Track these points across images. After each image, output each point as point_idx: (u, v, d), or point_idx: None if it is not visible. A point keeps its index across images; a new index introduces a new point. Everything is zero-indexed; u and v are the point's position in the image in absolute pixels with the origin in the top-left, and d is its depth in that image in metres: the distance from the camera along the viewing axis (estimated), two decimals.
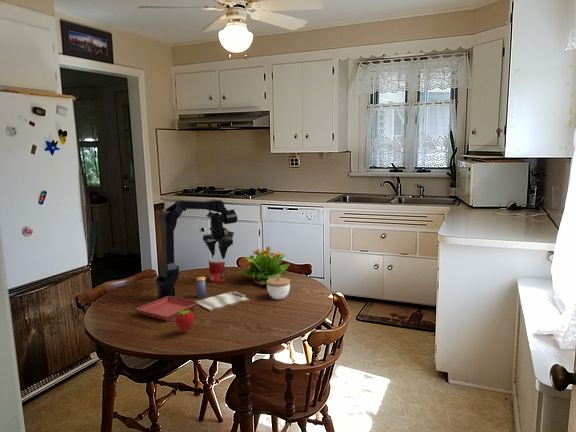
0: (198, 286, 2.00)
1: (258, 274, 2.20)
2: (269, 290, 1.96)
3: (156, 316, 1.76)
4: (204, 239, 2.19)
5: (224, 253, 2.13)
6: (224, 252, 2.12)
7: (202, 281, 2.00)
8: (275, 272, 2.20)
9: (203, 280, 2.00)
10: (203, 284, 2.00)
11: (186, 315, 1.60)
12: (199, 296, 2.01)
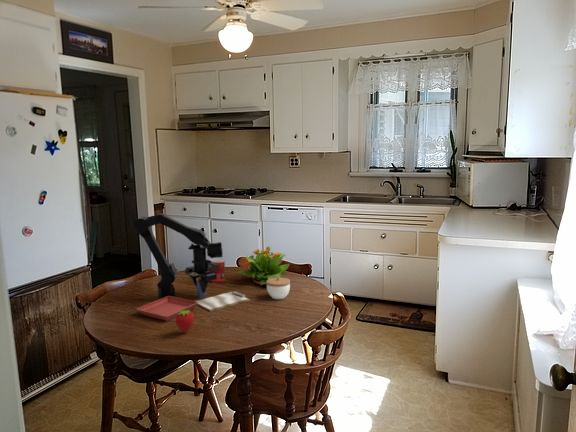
0: (198, 286, 2.00)
1: (258, 274, 2.20)
2: (269, 290, 1.96)
3: (156, 316, 1.76)
4: (186, 272, 2.05)
5: (204, 287, 2.00)
6: (204, 286, 2.00)
7: None
8: (275, 272, 2.20)
9: None
10: None
11: (186, 315, 1.60)
12: (199, 296, 2.01)
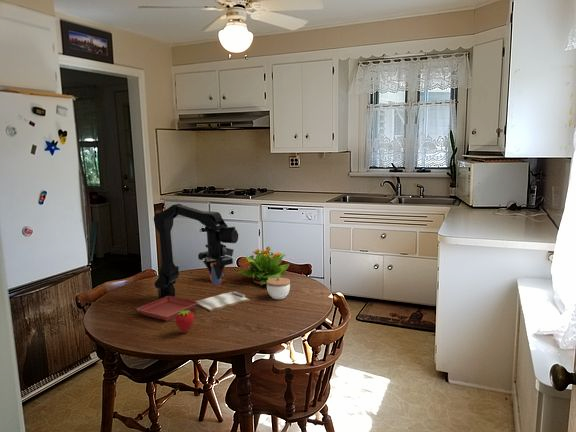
0: (213, 272, 1.87)
1: (258, 274, 2.20)
2: (269, 290, 1.96)
3: (156, 316, 1.76)
4: (200, 257, 1.92)
5: (220, 273, 1.87)
6: (220, 272, 1.87)
7: None
8: (275, 272, 2.20)
9: None
10: None
11: (186, 315, 1.60)
12: (214, 282, 1.88)
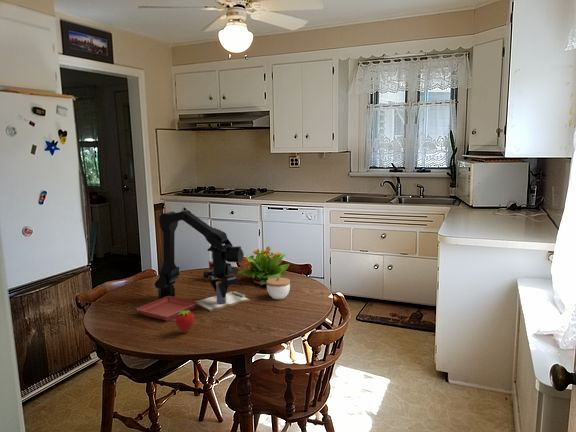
0: (218, 290, 1.89)
1: (258, 274, 2.20)
2: (269, 290, 1.96)
3: (156, 316, 1.76)
4: (205, 276, 1.94)
5: (224, 292, 1.89)
6: (224, 291, 1.89)
7: None
8: (275, 272, 2.20)
9: None
10: None
11: (186, 315, 1.60)
12: (219, 301, 1.90)
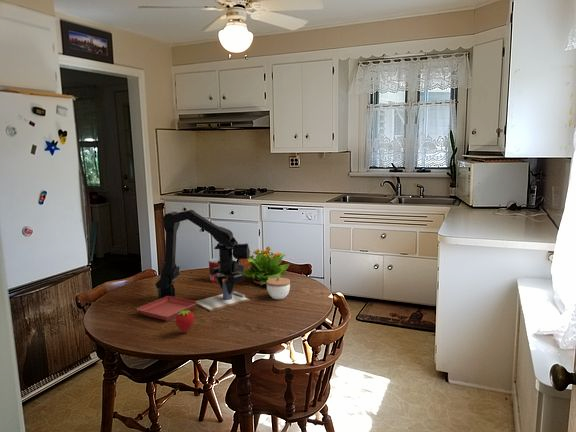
0: (224, 287, 1.95)
1: (258, 274, 2.20)
2: (269, 290, 1.96)
3: (156, 316, 1.76)
4: (212, 273, 1.99)
5: (231, 288, 1.94)
6: (231, 287, 1.94)
7: None
8: (275, 272, 2.20)
9: None
10: None
11: (186, 315, 1.60)
12: (225, 297, 1.95)
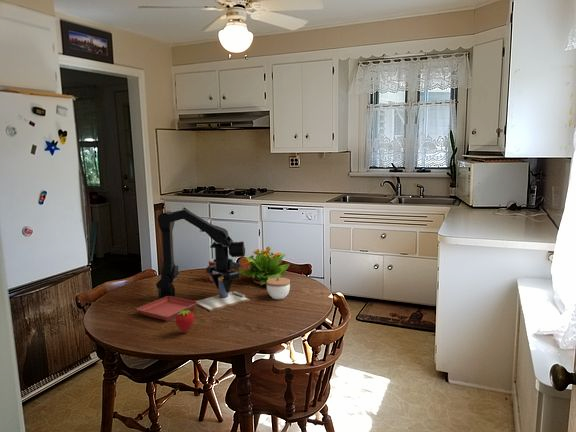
0: (220, 286, 1.97)
1: (258, 274, 2.20)
2: (269, 290, 1.96)
3: (156, 316, 1.76)
4: (208, 271, 2.02)
5: (228, 287, 1.96)
6: (228, 286, 1.95)
7: None
8: (275, 272, 2.20)
9: None
10: None
11: (186, 315, 1.60)
12: (221, 296, 1.98)
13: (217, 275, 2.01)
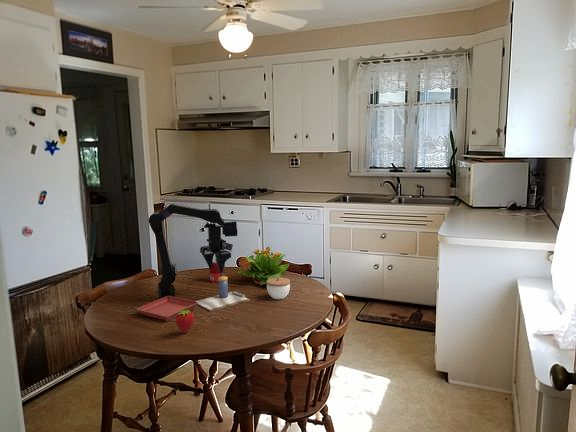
0: (220, 286, 1.97)
1: (258, 274, 2.20)
2: (269, 290, 1.96)
3: (156, 316, 1.76)
4: (201, 251, 2.06)
5: (222, 267, 1.99)
6: (222, 266, 1.98)
7: (224, 281, 1.97)
8: (275, 272, 2.20)
9: (225, 280, 1.97)
10: (225, 284, 1.98)
11: (186, 315, 1.60)
12: (221, 296, 1.98)
13: (209, 255, 2.06)
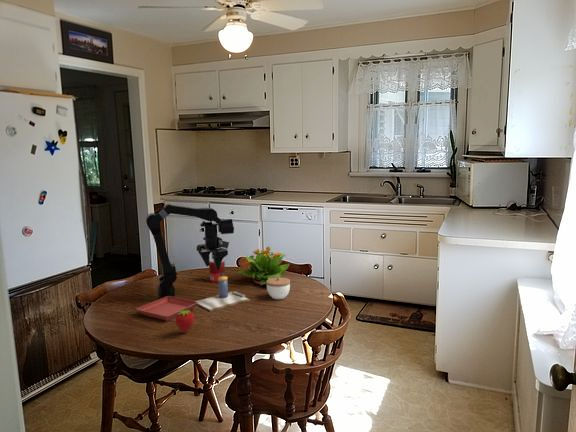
0: (220, 286, 1.97)
1: (258, 274, 2.20)
2: (269, 290, 1.96)
3: (156, 316, 1.76)
4: (198, 249, 2.09)
5: (219, 264, 2.02)
6: (219, 263, 2.02)
7: (224, 281, 1.97)
8: (275, 272, 2.20)
9: (225, 280, 1.97)
10: (225, 284, 1.98)
11: (186, 315, 1.60)
12: (221, 296, 1.98)
13: (206, 253, 2.09)
